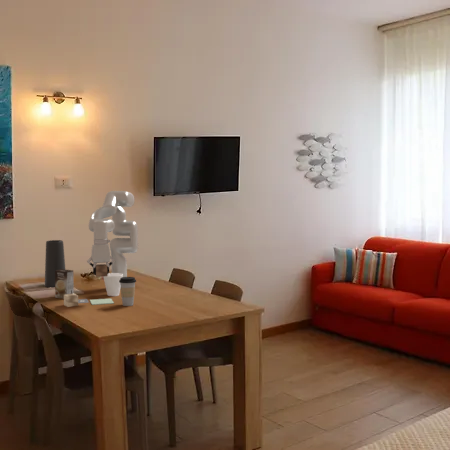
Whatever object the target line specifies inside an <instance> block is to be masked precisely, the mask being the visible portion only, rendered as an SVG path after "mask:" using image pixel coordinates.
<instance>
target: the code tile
mask: <svg viewBox="0 0 450 450" xmlns="http://www.w3.org/2000/svg"><path fill="white" fill-rule="evenodd" d="M88 303H90V301H89V300H88V298H81V299H80V298H78V304H88Z"/></svg>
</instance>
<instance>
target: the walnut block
mask: <svg viewBox="0 0 450 450" xmlns="http://www.w3.org/2000/svg"><path fill="white" fill-rule="evenodd" d="M95 267H96V275H95V277H96V278H97V277H102V278H103V276H107V265H106V263H101V264H100V263H99V264H98V263H97V264H96V266H95Z"/></svg>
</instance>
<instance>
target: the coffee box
mask: <svg viewBox="0 0 450 450" xmlns="http://www.w3.org/2000/svg"><path fill="white" fill-rule="evenodd" d="M74 282H75V281H74V270H73V269H72V270H71V269H66V268H65V269H60V270H56V271H55V288H54V289H55V290H54V294H55V296H54V297H55V299H56V298H57V299H63V300H64V295H65V294H75V293H74V291H75V290H74V287H75V286H74Z"/></svg>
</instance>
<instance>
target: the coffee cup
mask: <svg viewBox="0 0 450 450" xmlns="http://www.w3.org/2000/svg"><path fill="white" fill-rule="evenodd" d="M119 282H120V286H121V287H120V288H121V289H120V296H121V301H122V306H124V307H131V306H134V299H135V294H136V292H135V291H136V282H137V279H136V278H135V277H134V276H127V277H122V278H120V280H119Z"/></svg>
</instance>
